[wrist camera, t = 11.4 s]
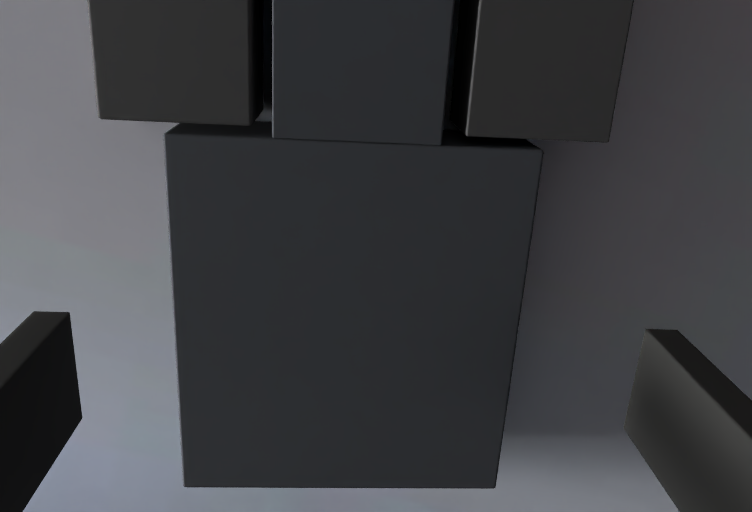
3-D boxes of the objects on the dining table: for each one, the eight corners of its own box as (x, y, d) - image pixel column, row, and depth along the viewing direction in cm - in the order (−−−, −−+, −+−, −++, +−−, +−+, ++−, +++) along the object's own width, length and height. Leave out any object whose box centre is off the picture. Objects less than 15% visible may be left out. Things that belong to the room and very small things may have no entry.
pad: (536, -17, 17) (569, -22, 14) (478, 437, 21) (495, 489, 19) (178, -39, 16) (151, -49, 14) (199, 434, 21) (182, 488, 18)
